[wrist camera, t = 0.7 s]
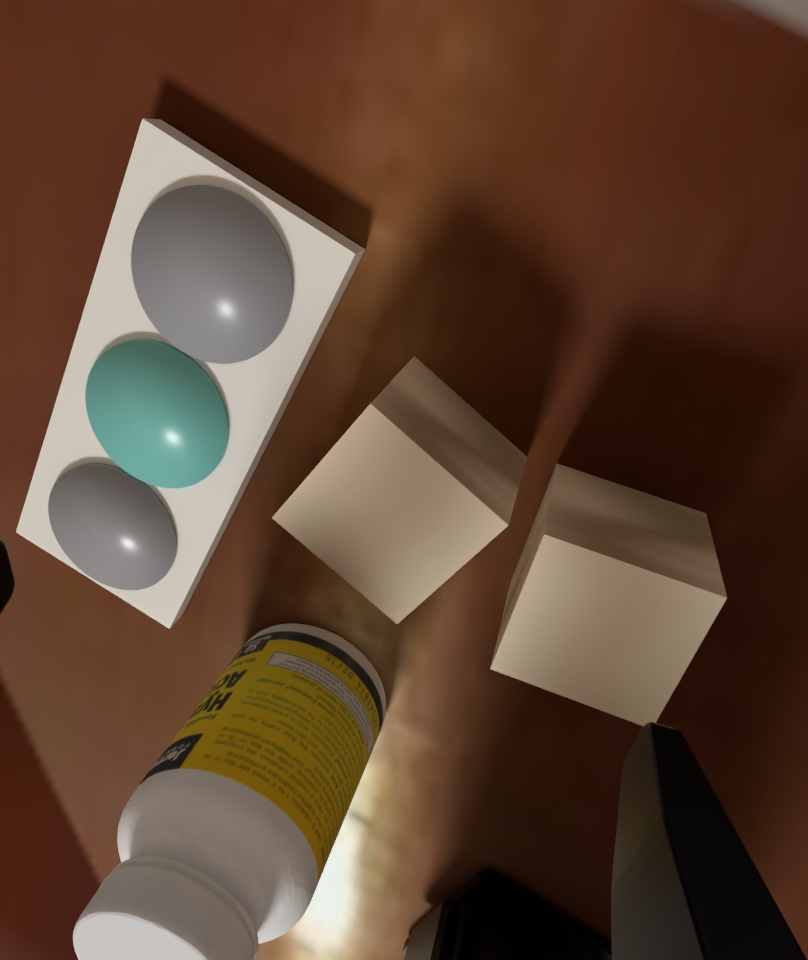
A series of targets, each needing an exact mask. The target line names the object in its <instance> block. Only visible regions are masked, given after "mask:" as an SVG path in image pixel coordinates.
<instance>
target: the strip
mask: <svg viewBox="0 0 808 960" xmlns="http://www.w3.org/2000/svg"><path fill="white" fill-rule="evenodd" d="M364 251H365V249H364V248H362V247H361V246H359V245H358V244H356V243H355V242H353V241H351V240H350V239H348V238H347V237H345V236H344V235H342V234H340V233H339V232H337V231H336V230H334V229H332V228H331V227H329V226H328V225H326V224H325V223H323V222H321V221H320V220H318V219H317V218H315V217H314V216H312V215H310V214H309V213H307V212H306V211H304V210H303V209H301V208H299V207H298V206H296V205H295V204H293V203H292V202H290V201H288V200H287V199H285V198H284V197H282V196H281V195H279V194H277V193H276V192H274V191H273V190H271V189H270V188H268V187H266V186H265V185H263V184H262V183H260V182H259V181H257V180H255V179H254V178H252V177H251V176H249V175H248V174H246V173H244V172H243V171H241V170H240V169H238V168H237V167H235V166H233V165H232V164H230V163H229V162H227V161H226V160H224V159H222V158H221V157H219V156H218V155H216V154H215V153H213V152H211V151H210V150H208V149H207V148H205V147H204V146H202V145H200V144H199V143H197V142H196V141H194V140H192V139H191V138H189V137H188V136H186V135H185V134H183V133H181V132H180V131H178V130H177V129H175V128H174V127H172V126H170V125H169V124H167V123H166V122H164V121H163V120H161V119H143V118H142V121H141V125H140V128H139V131H138V134H137V138H136V141H135V144H134V148H133V151H132V154H131V157H130V161H129V164H128V167H127V170H126V174H125V177H124V180H123V184H122V187H121V190H120V193H119V197H118V200H117V203H116V206H115V210H114V213H113V216H112V220H111V223H110V226H109V229H108V233H107V236H106V239H105V242H104V246H103V249H102V252H101V256H100V259H99V262H98V265H97V269H96V272H95V275H94V278H93V282H92V285H91V288H90V292H89V295H88V298H87V301H86V305H85V308H84V311H83V314H82V318H81V321H80V324H79V328H78V331H77V334H76V337H75V341H74V344H73V347H72V350H71V354H70V357H69V360H68V364H67V367H66V370H65V373H64V377H63V380H62V383H61V386H60V390H59V393H58V396H57V400H56V403H55V406H54V409H53V413H52V416H51V419H50V422H49V426H48V429H47V432H46V436H45V439H44V442H43V445H42V449H41V452H40V455H39V458H38V462H37V465H36V468H35V472H34V475H33V478H32V481H31V485H30V488H29V491H28V494H27V498H26V501H25V504H24V508H23V511H22V514H21V517H20V521H19V524H18V527H17V530H16V533H18V534H20V535H21V536H23V537H24V538H26V539H27V540H29V541H31V542H32V543H34V544H35V545H37V546H39V547H40V548H42V549H43V550H45V551H47V552H48V553H50V554H51V555H53V556H54V557H56V558H58V559H59V560H61V561H62V562H64V563H66V564H67V565H69V566H70V567H72V568H74V569H75V570H77V571H78V572H80V573H82V574H83V575H85V576H86V577H88V578H89V579H91V580H93V581H94V582H96V583H97V584H99V585H101V586H102V587H104V588H105V589H107V590H109V591H110V592H112V593H113V594H115V595H116V596H118V597H120V598H121V599H123V600H124V601H126V602H128V603H129V604H131V605H132V606H134V607H136V608H137V609H139V610H140V611H142V612H144V613H145V614H147V615H148V616H150V617H151V618H153V619H155V620H156V621H158V622H159V623H161V624H163V625H164V626H166V627H167V628H169V629H170V628H171V627H172V626H173V625H174V624H175V622H176V621H177V620H178V619H179V618H180V617H181V616H182V614H183V612H184V610H185V608H186V606H187V604H188V602H189V600H190V598H191V596H192V594H193V592H194V590H195V588H196V586H197V584H198V582H199V580H200V578H201V576H202V574H203V572H204V570H205V568H206V567H207V565H208V563H209V561H210V559H211V557H212V555H213V553H214V551H215V549H216V547H217V545H218V543H219V541H220V539H221V537H222V535H223V533H224V531H225V529H226V527H227V525H228V523H229V521H230V519H231V517H232V515H233V513H234V511H235V509H236V507H237V505H238V503H239V501H240V499H241V497H242V495H243V493H244V491H245V489H246V487H247V485H248V483H249V481H250V479H251V477H252V475H253V473H254V471H255V469H256V467H257V465H258V463H259V461H260V459H261V457H262V455H263V453H264V451H265V449H266V447H267V445H268V443H269V441H270V439H271V437H272V435H273V433H274V431H275V429H276V427H277V425H278V423H279V421H280V419H281V417H282V415H283V413H284V411H285V409H286V407H287V405H288V403H289V401H290V399H291V397H292V395H293V393H294V391H295V389H296V387H297V385H298V383H299V381H300V379H301V377H302V375H303V373H304V371H305V369H306V367H307V365H308V363H309V361H310V359H311V357H312V355H313V353H314V351H315V349H316V347H317V345H318V343H319V341H320V339H321V337H322V335H323V333H324V331H325V329H326V327H327V325H328V323H329V321H330V319H331V317H332V315H333V313H334V311H335V309H336V307H337V305H338V303H339V301H340V299H341V297H342V295H343V293H344V291H345V289H346V287H347V285H348V283H349V281H350V279H351V277H352V275H353V273H354V271H355V269H356V267H357V265H358V263H359V261H360V259H361V257H362V255H363V253H364Z"/></svg>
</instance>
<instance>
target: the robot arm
mask: <svg viewBox="0 0 808 960" xmlns="http://www.w3.org/2000/svg"><path fill="white" fill-rule="evenodd" d="M14 586H15V579H14V575H13V571H12V567H11V563H10V558H9V554H8V550H7V547H6V544H5V543H4V542H3V541H2V540H0V614H1V612H2V611H3V609H4V607H5V606H6V604H7V603H8V601H9V600H10V598H11V596H12V593H13V590H14ZM611 932H612V944H610V943H609V942H607V941H605V940H604V939H602V938H601V937H599V936H597V935H596V934H594V933H593V932H591V931H590V930H588V929H586V928H585V927H583V926H582V925H580V924H578V923H577V922H575V921H574V920H572V919H570V918H569V917H567V916H566V915H564V914H562V913H561V912H559V911H558V910H556V909H555V908H553V907H551V906H550V905H548V904H547V903H545V902H543V901H542V900H540V899H539V898H537V897H535V896H534V895H532V894H531V893H529V892H527V891H526V890H524V889H523V888H521V887H520V886H518V885H516V884H515V883H513V882H512V881H510V880H508V879H507V878H505V877H504V876H502V875H500V874H499V873H497V872H495V871H491V870H484V871H481V872H479V873H478V874H477V875H476V876H475V877H474V878H473V879H472V880H471V881H470V882H468V883H467V884H466V885H465V886H464V887H463V888H462V889H461V890H460V891H459V892H458V893H456V894H455V895H454V896H453V897H452V898H451V899H448V900H446V901H443V902H441V903H440V904H439V905H438V906H437V907H436V908H435V909H434V910H433V911H432V912H431V913H429V914H428V915H427V916H426V917H425V918H424V919H423V920H422V921H421V922H420V923H419V924H418V925H416V926H415V927H414V928H413V929H412V931H411V934H410V937H408V938H407V939H406V941H405V944H404V948H403V956H404V957H405V958H404V960H807V959H806V957H805V955H804V953H803V951H802V950H801V948H800V946H799V944H798V942H797V941H796V939H795V937H794V935H793V933H792V931H791V930H790V928H789V926H788V924H787V922H786V921H785V919H784V917H783V915H782V913H781V912H780V910H779V908H778V906H777V904H776V902H775V901H774V899H773V897H772V895H771V893H770V892H769V890H768V888H767V886H766V884H765V883H764V881H763V879H762V877H761V875H760V873H759V872H758V870H757V868H756V866H755V864H754V863H753V861H752V859H751V857H750V855H749V854H748V852H747V850H746V848H745V846H744V844H743V843H742V841H741V839H740V837H739V835H738V834H737V832H736V830H735V828H734V826H733V824H732V823H731V821H730V819H729V817H728V815H727V814H726V812H725V810H724V808H723V806H722V805H721V803H720V801H719V799H718V797H717V795H716V794H715V792H714V790H713V788H712V786H711V785H710V783H709V781H708V779H707V777H706V776H705V774H704V772H703V770H702V768H701V766H700V765H699V763H698V761H697V759H696V757H695V756H694V754H693V752H692V750H691V748H690V746H689V745H688V743H687V741H686V739H685V737H684V736H683V734H682V733H681V732H680V731H679V730H677V729H675V728H672V727H668V726H665V725H661V724H658V723H654V722H648V723H646V724H645V725H644V726H643V728H642V729H641V731H640V733H639V735H638V736H637V738H636V740H635V742H634V744H633V745H632V747H631V749H630V751H629V752H628V754H627V756H626V758H625V761H624V765H623V769H622V776H621V786H620V797H619V808H618V819H617V830H616V841H615V851H614V862H613V874H612V887H611Z"/></svg>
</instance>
